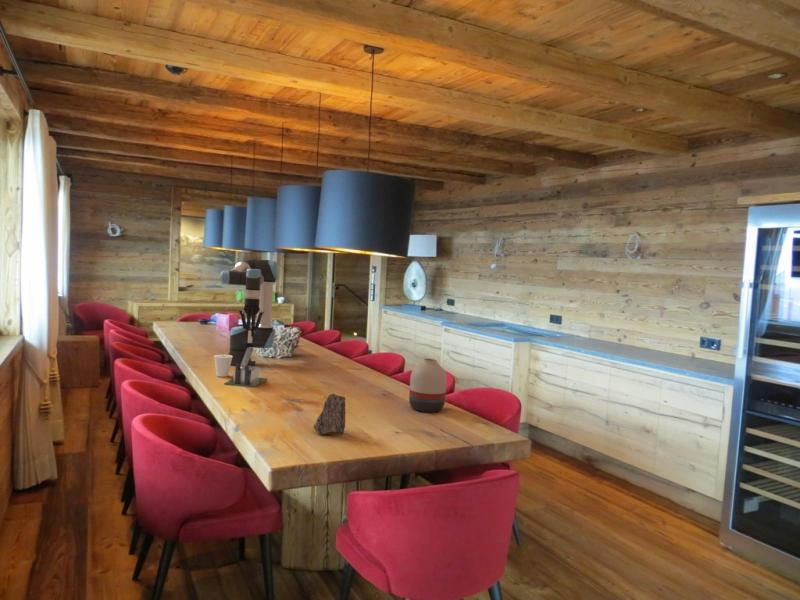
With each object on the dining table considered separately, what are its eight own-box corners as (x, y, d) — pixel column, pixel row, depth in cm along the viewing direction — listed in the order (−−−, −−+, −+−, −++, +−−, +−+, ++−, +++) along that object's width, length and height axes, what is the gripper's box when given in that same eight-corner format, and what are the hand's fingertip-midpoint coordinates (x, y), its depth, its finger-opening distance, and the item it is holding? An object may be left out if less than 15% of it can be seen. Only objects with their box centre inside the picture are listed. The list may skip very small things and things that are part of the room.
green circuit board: (238, 377, 312) (239, 358, 311) (266, 379, 310) (268, 361, 310) (224, 384, 292) (225, 364, 291) (254, 387, 291) (255, 367, 290)
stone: (350, 436, 219) (353, 398, 218) (317, 438, 213) (319, 399, 212) (340, 426, 230) (342, 390, 230) (308, 428, 225) (310, 391, 224)
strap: (247, 349, 304) (247, 347, 304) (253, 349, 304) (253, 348, 303) (238, 370, 294) (238, 368, 293) (245, 370, 294) (244, 369, 293)
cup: (228, 378, 307) (229, 358, 307) (210, 377, 308) (211, 356, 307) (234, 374, 317) (235, 355, 317) (216, 373, 317) (217, 354, 317)
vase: (450, 409, 272) (453, 360, 270) (434, 416, 257) (437, 364, 256) (419, 403, 280) (422, 355, 279) (401, 409, 266) (405, 358, 264)
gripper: (237, 297, 298) (235, 342, 299) (262, 299, 297) (259, 344, 298) (242, 296, 305) (240, 340, 306) (266, 298, 304) (264, 342, 305)
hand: (249, 342), depth 302 cm, fingers closed
